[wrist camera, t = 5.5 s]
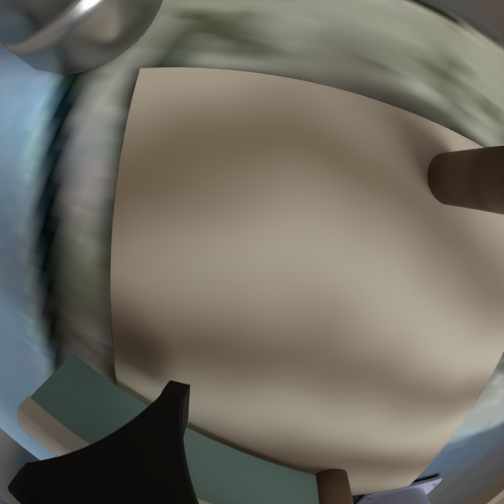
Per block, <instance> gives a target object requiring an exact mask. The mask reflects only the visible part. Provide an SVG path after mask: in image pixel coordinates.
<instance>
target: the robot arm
mask: <svg viewBox="0 0 504 504" xmlns="http://www.w3.org/2000/svg"><path fill="white" fill-rule="evenodd" d="M189 398H190V385H189V384H184V383H180V382H176V381H172V380H170V381H169V382H168V383H167V385H166V386H165V387H164V389H163V390H162V392H161V394H160V396H159V397H158V398H157V399H156V400H155V401H154V402H152V403H151V404H150V405H149V406H148V407H147V408H146V409H144V410H143V411H142V412H141V413H140V414H138V415H137V416H136V417H135V418H133V419H132V420H131V421H129V422H128V423H126V424H125V425H124V426H122V427H121V428H119V429H118V430H116V431H115V432H113V433H111V434H110V435H108V436H106V437H104V438H103V439H101V440H99V441H97V442H95V443H93V444H90V445H88V446H86V447H84V448H81V449H79V450H76V451H73V452H70V453H67V454H64V455H61V456H58V457H54V458H50V459H46V460H41V461H36V462H29V463H26V464H25V465H24V466H23V467H22V468H21V469H20V470H19V472H18V473H17V474H16V476H15V477H14V478H13V480H12V482H11V483H10V484H9V486H8V489H9V491H10V493H11V494H12V495H13V496H14V497H15V498H16V499H17V500H18V501H19V502H20V503H21V504H199V503H198V500H197V497H196V494H195V491H194V488H193V485H192V481H191V478H190V474H189V469H188V465H187V460H186V454H185V448H184V439H183V437H184V433H185V430H186V426H187V422H188V414H189ZM441 480H442V477H441V476H437V477H434V478H430V479H427V480H423V481H419V482H415V483H411V484H410V485H409V486H408V487H403V488H398V489H393V490H388V491H382V492H376V493H369V494H365V495H364V496H363V497H362V498H361V499H360V500H359V501H358V502H357V503H356V504H430V503H429V500H428V498H427V494H428V493H429V492H430V491H431V490H432V489H433V488H434V487H435V486H436V485H437V484H438V483H439V482H440V481H441ZM0 504H7V503H6V502H5V501H4V500H3V499H1V498H0Z"/></svg>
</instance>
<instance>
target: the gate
mask: <svg viewBox="0 0 504 504" xmlns="http://www.w3.org/2000/svg"><path fill="white" fill-rule="evenodd" d="M147 407H148V406H147V405H146V404H144V403H142V402H141V401H139V400H137V399H136V398H134V397H133V396H131V395H130V394H128V393H127V392H125V391H123V390H122V389H120V388H119V387H118V386H116V385H115V384H113V383H112V382H110V381H109V380H107V379H106V378H105V377H103V376H102V375H100V374H99V373H98V372H96V371H95V370H94V369H92V368H91V367H90V366H88V365H87V364H86V363H85V362H83V361H82V360H81V359H79V358H78V357H77V356H76V355H74V354H73V355H72V356H71V357H70V358H69V359H68V360H67V361H66V362H65V363H64V364H63V365H62V366H61V367H60V368H59V369H58V370H57V371H56V372H55V373H54V374H52V375H51V376H50V377H49V378H48V379H47V380H46V381H45V382H44V383H43V385H42V386H41V387H40V388H39V389H38V390H37V391H36V392H35V393H34V394H33V395H32V396H31V397H29V396H28V397H27V398H26V400H25V401H24V402H23V403H22V404H21V405H20V406H19V407H18V422H19V426H20V427H22V428H23V429H24V430H25V431H26V432H27V433H28V434H29V435H31V436H32V437H33V438H34V439H35V440H37V441H38V442H39V443H40V444H41V445H43V446H44V447H45V448H46V449H48V450H49V451H50V452H52V453H53V454H54V455H56V456H57V457H58V456H61V455H64V454H67V453H70V452H73V451H76V450H79V449H81V448H84V447H86V446H88V445H90V444H93V443H95V442H97V441H99V440H101V439H103V438H104V437H106V436H108V435H110V434H111V433H113V432H115V431H116V430H118V429H119V428H121V427H122V426H124V425H125V424H126V423H128V422H129V421H131V420H132V419H133V418H135V417H136V416H137V415H138V414H140V413H141V412H142V411H143V410H144V409H146V408H147ZM183 439H184V448H185V454H186V460H187V465H188V469H189V474H190V478H191V481H192V485H193V488H194V491H195V494H196V497H197V500H198V503H199V504H319V497H318V489H317V482H316V475H312V474H308V473H304V472H300V471H297V470H293V469H290V468H287V467H283V466H280V465H277V464H274V463H271V462H268V461H265V460H262V459H259V458H256V457H254V456H251V455H248V454H246V453H243V452H241V451H238V450H236V449H233V448H231V447H228V446H226V445H224V444H221V443H219V442H217V441H214V440H212V439H210V438H208V437H206V436H204V435H201V434H199V433H197V432H195V431H193V430H191V429H189V428H187V427H186V430H185V433H184V437H183Z"/></svg>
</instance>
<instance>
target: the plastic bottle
mask: <svg viewBox="0 0 504 504" xmlns="http://www.w3.org/2000/svg"><path fill="white" fill-rule="evenodd" d="M162 1H163V0H0V42H1V43H2V44H3V46H4V47H5V48H7V49H8V50H9V51H10V52H11V53H12V54H14V55H15V56H16V57H18V58H19V59H21V60H23V61H24V62H26V63H27V64H29V65H30V66H32V67H33V68H35V69H38V70H42V71H48V72H54V73H59V74H76V73H80V72H84V71H87V70H90V69H92V68H95V67H98V66H100V65H103V64H105V63H107V62H109V61H111V60H112V59H114V58H116V57H117V56H119V55H120V54H122V53H123V52H125V51H126V50H127V49H128V48H130V47H131V46H132V45H133V44H134V43H136V42H137V40H138V39H139V38H140V37H141V36H142V35H143V34H144V33H145V32H146V30H147V29H148V28H149V26H150V25H151V24H152V22H153V20H154V18H155V16H156V14H157V12H158V10H159V9H160V7H161V4H162Z"/></svg>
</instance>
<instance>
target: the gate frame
mask: <svg viewBox="0 0 504 504" xmlns="http://www.w3.org/2000/svg"><path fill="white" fill-rule="evenodd" d="M111 323H112V339H113V352H114V363H115V372H116V380H117V386H118V387H119V388H120V389H122V390H123V391H125V392H127V393H128V394H130V395H131V396H133V397H134V398H136V399H137V400H139V401H141V402H142V403H144V404H146V405H147V406H149V405H150V404H151V403H152V402H154V401H155V400H156V399H157V398H158V397H159V396H160V394H161V392H162V390H163V389H164V387H165V386H166V385H167V383H168V382H169V381H170V380H172V381H176V382H180V383H184V384H189V385H190V398H189V414H188V422H187V426H186V427H187V428H189V429H191V430H193V431H195V432H197V433H199V434H201V435H204V436H206V437H208V438H210V439H212V440H214V441H217V442H219V443H221V444H224V445H226V446H228V447H231V448H233V449H236V450H238V451H241V452H243V453H246V454H248V455H251V456H254V457H256V458H259V459H262V460H265V461H268V462H271V463H274V464H277V465H280V466H283V467H287V468H290V469H293V470H297V471H300V472H304V473H308V474H312V475H316V482H317V489H318V497H319V504H354V503H353V498H352V495H361V494H369V493H376V492H382V491H388V490H393V489H398V488H403V487H408V486H409V485H410V484H411V483H412V482H413V481H414V480H415V479H416V478H417V477H418V476H419V475H420V474H421V473H422V472H423V471H424V470H425V469H426V467H427V466H428V465H429V464H430V463H431V462H432V461H433V459H434V458H435V457H436V456H437V455H438V454H439V452H440V451H441V450H442V449H443V447H444V446H445V445H446V444H447V442H448V441H449V440H450V439H451V437H452V436H453V435H454V433H455V432H456V431H457V429H458V428H459V426H460V425H461V424H462V422H463V421H464V419H465V418H466V416H467V415H468V413H469V412H470V410H471V409H472V407H473V406H474V404H475V403H476V401H477V399H478V398H479V396H480V394H481V393H482V391H483V389H484V388H485V386H486V384H487V382H488V381H489V379H490V377H491V375H492V373H493V371H494V369H495V368H496V366H497V364H498V362H499V360H500V358H501V356H502V353H503V351H504V146H496V147H486V148H484V147H482V146H480V145H478V144H477V143H475V142H473V141H471V140H469V139H467V138H465V137H463V136H462V135H460V134H458V133H456V132H454V131H452V130H449V129H447V128H445V127H443V126H441V125H439V124H437V123H434V122H432V121H430V120H428V119H425V118H423V117H420V116H418V115H416V114H413V113H411V112H408V111H405V110H403V109H400V108H398V107H395V106H392V105H389V104H386V103H384V102H381V101H378V100H375V99H371V98H368V97H365V96H362V95H359V94H355V93H352V92H348V91H344V90H341V89H337V88H333V87H329V86H325V85H321V84H316V83H312V82H307V81H302V80H297V79H292V78H286V77H281V76H275V75H268V74H261V73H253V72H245V71H235V70H224V69H209V68H177V67H170V68H140V71H139V74H138V78H137V82H136V86H135V89H134V93H133V97H132V102H131V106H130V110H129V115H128V119H127V124H126V129H125V134H124V140H123V145H122V151H121V157H120V164H119V170H118V178H117V185H116V194H115V204H114V214H113V227H112V244H111Z"/></svg>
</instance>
